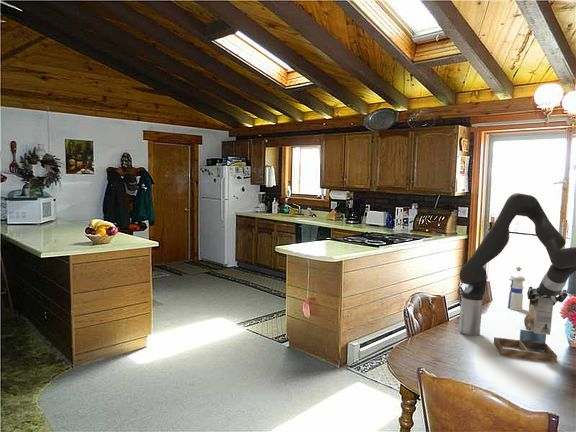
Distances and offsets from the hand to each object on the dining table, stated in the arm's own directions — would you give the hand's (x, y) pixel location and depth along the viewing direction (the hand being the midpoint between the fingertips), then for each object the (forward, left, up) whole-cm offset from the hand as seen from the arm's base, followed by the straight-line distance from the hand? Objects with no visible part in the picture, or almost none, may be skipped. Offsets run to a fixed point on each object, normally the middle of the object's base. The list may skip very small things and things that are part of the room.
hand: (541, 303), depth 178 cm
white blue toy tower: (+9, +74, -23) cm, 78 cm away
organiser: (-5, 0, -22) cm, 23 cm away
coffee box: (0, 0, -12) cm, 12 cm away
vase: (+8, +37, -23) cm, 44 cm away
